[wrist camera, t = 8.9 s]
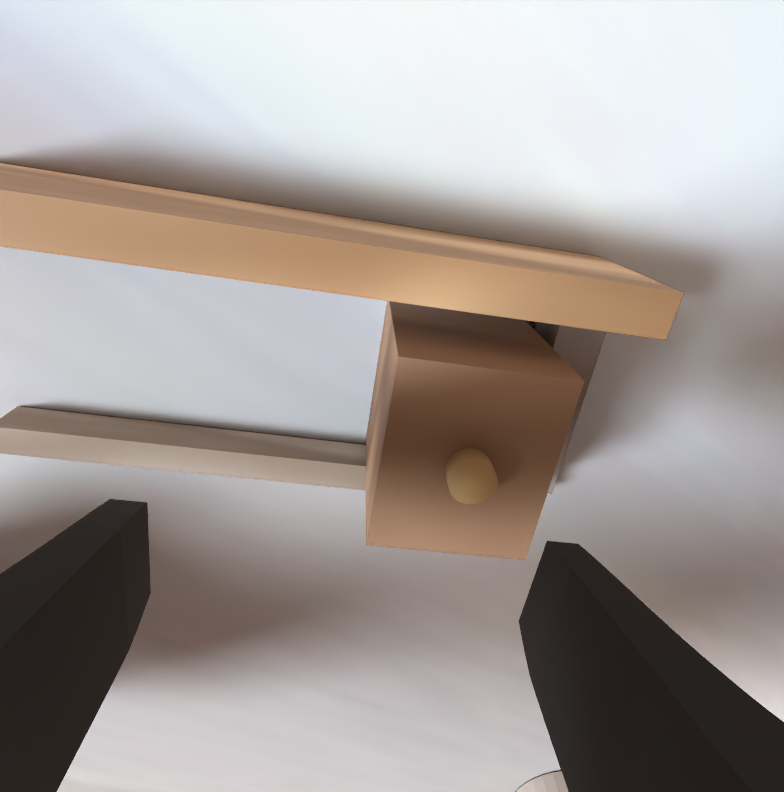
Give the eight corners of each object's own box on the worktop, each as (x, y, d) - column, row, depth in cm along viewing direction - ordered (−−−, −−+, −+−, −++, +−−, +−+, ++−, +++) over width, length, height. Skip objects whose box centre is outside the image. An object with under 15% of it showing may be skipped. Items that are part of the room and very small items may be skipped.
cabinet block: (482, 450, 20) (532, 578, 14) (366, 437, 20) (365, 563, 14) (517, 312, 18) (596, 393, 12) (388, 294, 17) (400, 367, 11)
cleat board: (528, 484, 21) (574, 576, 16) (21, 431, 19) (-88, 518, 14) (599, 256, 17) (684, 292, 13) (-21, 159, 15) (-186, 161, 11)
